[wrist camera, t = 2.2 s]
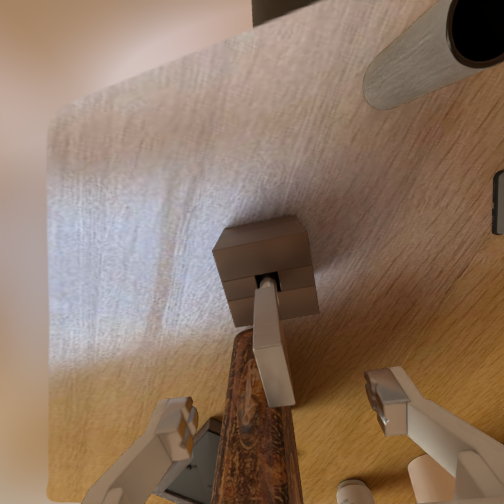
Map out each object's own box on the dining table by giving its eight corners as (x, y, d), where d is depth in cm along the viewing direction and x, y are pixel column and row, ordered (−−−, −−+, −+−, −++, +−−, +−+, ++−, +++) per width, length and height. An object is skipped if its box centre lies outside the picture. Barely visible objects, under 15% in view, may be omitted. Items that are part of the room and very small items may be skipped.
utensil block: (223, 229, 26) (211, 250, 20) (294, 213, 26) (307, 231, 19) (240, 290, 29) (235, 328, 22) (305, 278, 28) (319, 313, 22)
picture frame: (210, 417, 37) (154, 481, 44) (207, 431, 35) (149, 496, 42) (292, 456, 40) (228, 511, 46) (294, 470, 38) (227, 525, 44)
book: (231, 332, 31) (148, 837, 8) (272, 325, 31) (315, 848, 7) (256, 417, 37) (251, 865, 13) (291, 413, 36) (351, 872, 13)
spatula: (256, 239, 27) (252, 348, 11) (268, 237, 27) (281, 344, 11) (263, 271, 28) (269, 408, 12) (275, 269, 28) (295, 405, 12)
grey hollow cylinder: (363, 115, 22) (443, 78, 12) (361, 57, 21) (450, -37, 11) (413, 104, 22) (537, 56, 12) (415, 44, 20) (558, -66, 11)
